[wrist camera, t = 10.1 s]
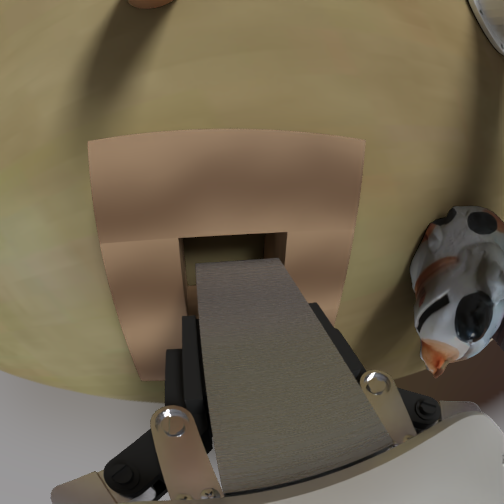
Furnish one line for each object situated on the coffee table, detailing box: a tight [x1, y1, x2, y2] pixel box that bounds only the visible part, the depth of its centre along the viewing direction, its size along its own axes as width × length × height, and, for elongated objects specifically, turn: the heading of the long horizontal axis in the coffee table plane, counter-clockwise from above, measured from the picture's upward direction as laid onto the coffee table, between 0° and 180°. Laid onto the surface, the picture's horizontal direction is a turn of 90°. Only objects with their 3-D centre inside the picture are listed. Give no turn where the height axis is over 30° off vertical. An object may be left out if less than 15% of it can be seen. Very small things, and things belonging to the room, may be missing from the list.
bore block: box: [88, 129, 366, 381], centre depth 17 cm, size 16×14×4 cm
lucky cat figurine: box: [410, 206, 504, 378], centre depth 19 cm, size 15×12×14 cm
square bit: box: [195, 258, 394, 497], centre depth 9 cm, size 4×4×10 cm
